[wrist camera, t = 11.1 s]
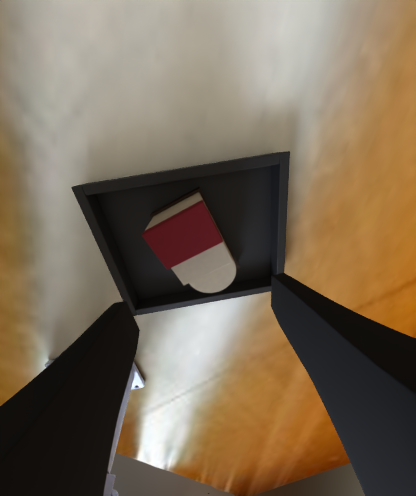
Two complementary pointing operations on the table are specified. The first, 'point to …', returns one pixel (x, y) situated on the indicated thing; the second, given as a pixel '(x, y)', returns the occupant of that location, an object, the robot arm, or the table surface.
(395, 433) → the robot arm
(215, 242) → the red-based arched block
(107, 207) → the tray
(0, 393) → the table surface
